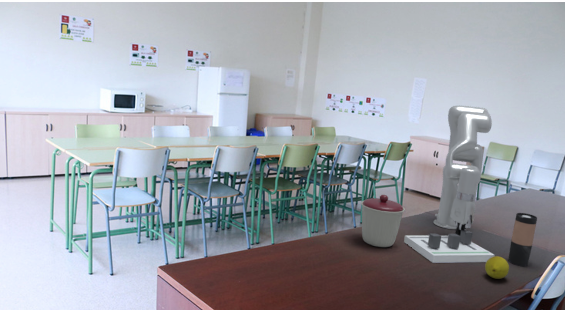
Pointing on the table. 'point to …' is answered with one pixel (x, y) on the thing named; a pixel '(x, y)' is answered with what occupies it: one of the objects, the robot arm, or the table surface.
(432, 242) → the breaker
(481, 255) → the breaker panel
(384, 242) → the canister
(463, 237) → the block
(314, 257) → the table surface
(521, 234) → the travel mug
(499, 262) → the lemon
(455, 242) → the block
